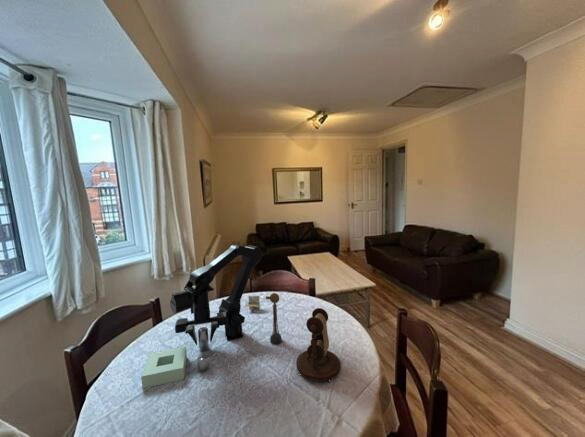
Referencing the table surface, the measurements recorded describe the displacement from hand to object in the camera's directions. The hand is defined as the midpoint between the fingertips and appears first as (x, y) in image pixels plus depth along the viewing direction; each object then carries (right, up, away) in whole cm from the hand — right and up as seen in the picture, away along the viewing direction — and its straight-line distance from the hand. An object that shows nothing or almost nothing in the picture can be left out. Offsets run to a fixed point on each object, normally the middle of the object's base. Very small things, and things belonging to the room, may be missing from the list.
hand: (203, 342), depth 101 cm
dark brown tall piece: (+43, -3, -12) cm, 45 cm away
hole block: (-9, -4, -12) cm, 15 cm away
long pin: (0, -3, 0) cm, 2 cm away
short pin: (+4, -4, -11) cm, 12 cm away
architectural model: (+15, +1, +32) cm, 36 cm away
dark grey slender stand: (+27, -2, +4) cm, 27 cm away
